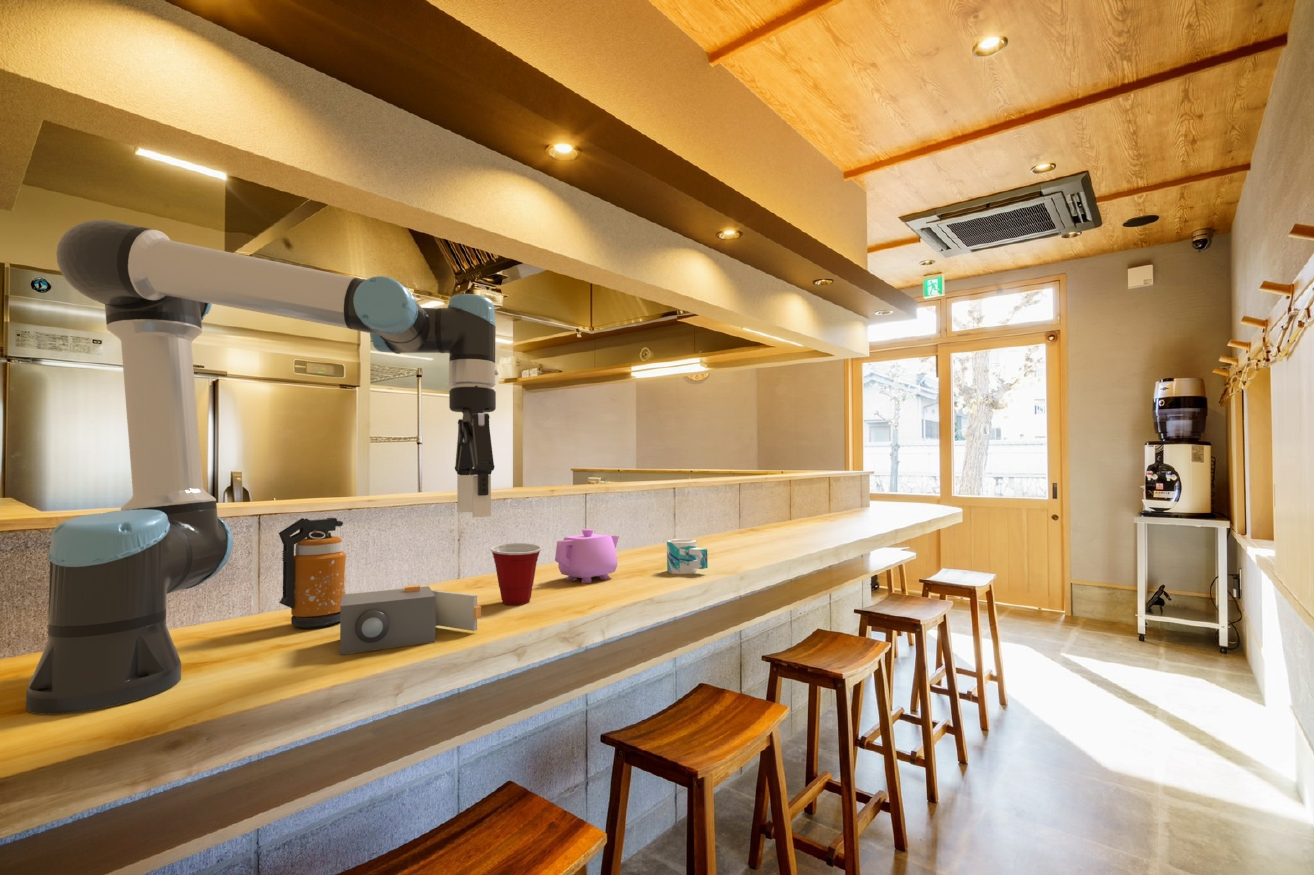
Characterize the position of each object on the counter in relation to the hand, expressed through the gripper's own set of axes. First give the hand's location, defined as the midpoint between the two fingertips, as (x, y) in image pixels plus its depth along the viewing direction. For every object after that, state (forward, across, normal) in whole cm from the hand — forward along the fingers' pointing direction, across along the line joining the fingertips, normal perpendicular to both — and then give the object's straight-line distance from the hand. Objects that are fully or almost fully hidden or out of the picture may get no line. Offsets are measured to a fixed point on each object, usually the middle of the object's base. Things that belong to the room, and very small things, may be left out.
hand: (473, 514), depth 102 cm
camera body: (+21, +8, +13) cm, 26 cm away
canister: (+21, +27, +24) cm, 42 cm away
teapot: (+21, +43, -37) cm, 61 cm away
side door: (+21, +9, +1) cm, 23 cm away
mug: (+21, +37, -63) cm, 76 cm away
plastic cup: (+21, +25, -14) cm, 36 cm away
